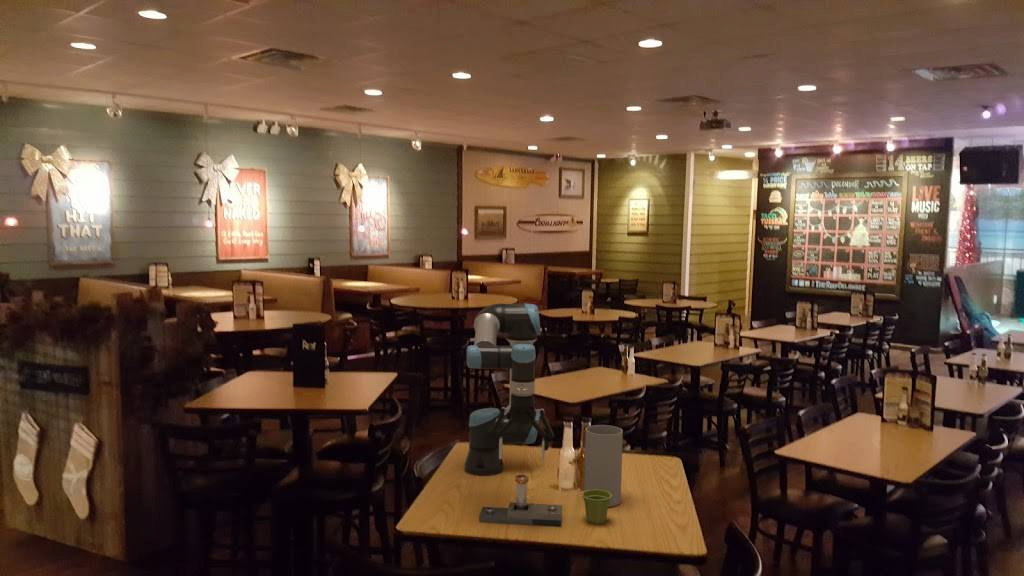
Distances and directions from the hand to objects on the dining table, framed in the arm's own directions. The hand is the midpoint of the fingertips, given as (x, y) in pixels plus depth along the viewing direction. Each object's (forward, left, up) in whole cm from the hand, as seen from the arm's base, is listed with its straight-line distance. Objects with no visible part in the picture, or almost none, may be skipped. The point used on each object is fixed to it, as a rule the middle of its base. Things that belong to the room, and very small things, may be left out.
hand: (521, 459), depth 236 cm
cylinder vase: (+2, +33, -20) cm, 38 cm away
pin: (0, 0, -20) cm, 20 cm away
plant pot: (+14, +20, -20) cm, 31 cm away
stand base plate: (0, 0, -20) cm, 20 cm away
